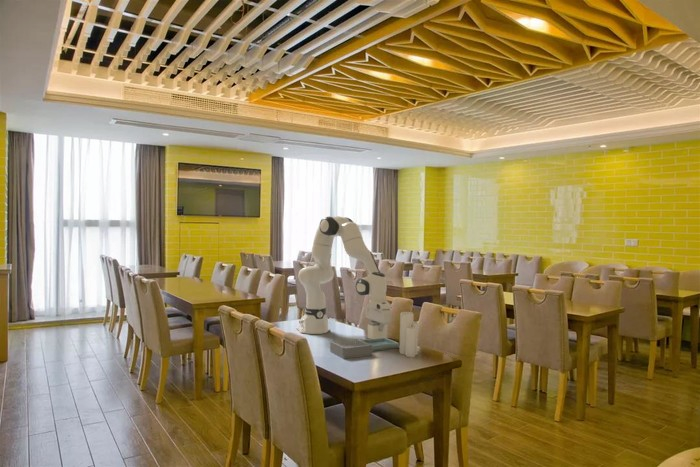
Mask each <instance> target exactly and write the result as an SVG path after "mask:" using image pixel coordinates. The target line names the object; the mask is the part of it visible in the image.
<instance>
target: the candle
mask: <svg viewBox="0 0 700 467" xmlns="http://www.w3.org/2000/svg"><path fill="white" fill-rule="evenodd" d="M418 331H419V323H418V322H414V312H412V311H401V312H400V313H399V348H398V349H399V351H398V352H399V353H400V354H401V355H405V357H408V358H415V357H416V355H418V341H419V340H418V338H419V337H418V336H419V335H418V333H419V332H418Z"/></svg>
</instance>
